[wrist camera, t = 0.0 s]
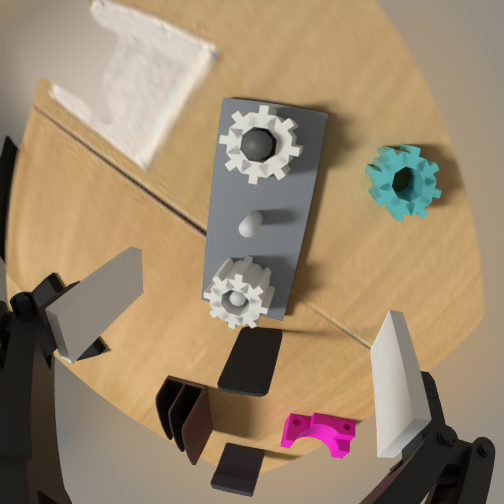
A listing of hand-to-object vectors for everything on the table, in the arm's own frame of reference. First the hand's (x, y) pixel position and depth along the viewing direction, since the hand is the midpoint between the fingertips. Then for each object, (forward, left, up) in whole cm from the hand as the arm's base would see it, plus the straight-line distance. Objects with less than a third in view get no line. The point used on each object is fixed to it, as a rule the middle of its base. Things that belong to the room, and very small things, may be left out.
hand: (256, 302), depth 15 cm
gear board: (+5, -5, -28) cm, 29 cm away
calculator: (+71, +2, -29) cm, 76 cm away
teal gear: (-5, +13, -28) cm, 32 cm away
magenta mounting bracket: (+49, +16, -29) cm, 59 cm away
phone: (+25, -1, -29) cm, 38 cm away
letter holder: (+56, -14, -29) cm, 64 cm away
